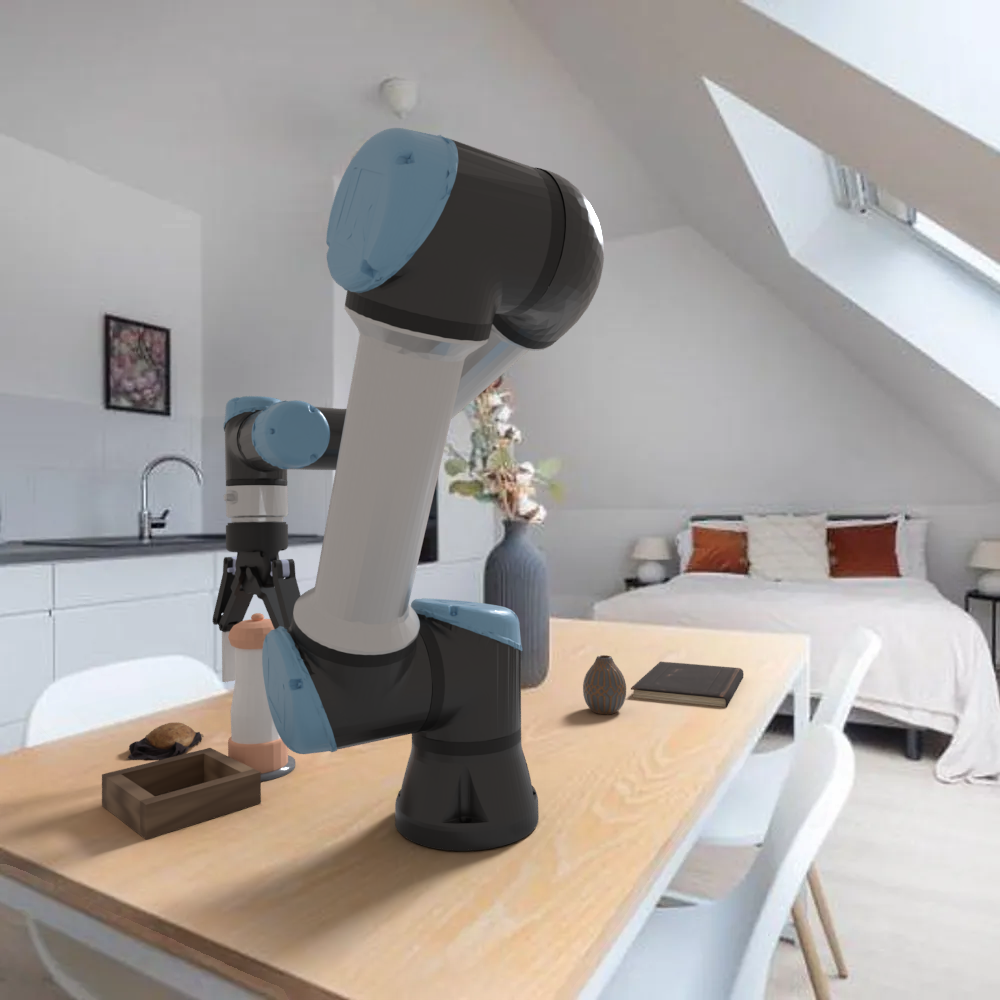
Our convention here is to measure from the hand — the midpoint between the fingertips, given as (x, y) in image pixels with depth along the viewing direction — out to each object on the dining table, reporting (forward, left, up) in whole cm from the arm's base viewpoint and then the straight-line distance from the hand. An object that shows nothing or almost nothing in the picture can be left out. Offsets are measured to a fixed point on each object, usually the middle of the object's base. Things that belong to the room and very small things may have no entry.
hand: (258, 688), depth 95 cm
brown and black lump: (+18, +4, -11) cm, 22 cm away
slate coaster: (0, 0, -10) cm, 10 cm away
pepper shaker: (0, 0, -10) cm, 10 cm away
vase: (-16, -52, -11) cm, 55 cm away
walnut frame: (-4, +11, -10) cm, 16 cm away
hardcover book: (-18, -75, -11) cm, 78 cm away
